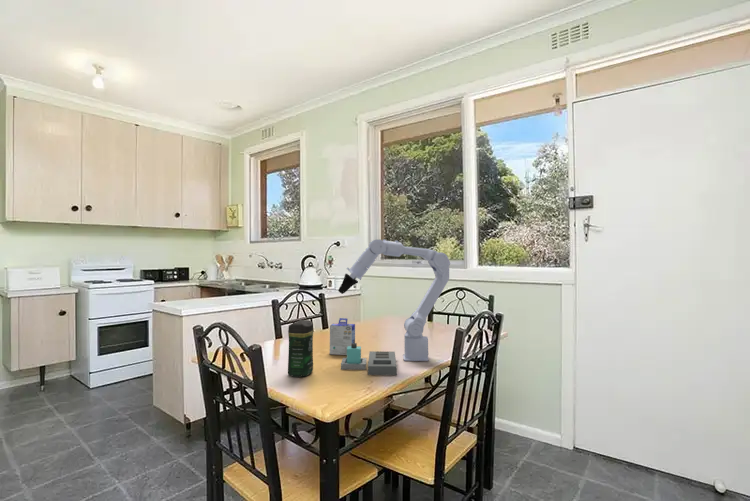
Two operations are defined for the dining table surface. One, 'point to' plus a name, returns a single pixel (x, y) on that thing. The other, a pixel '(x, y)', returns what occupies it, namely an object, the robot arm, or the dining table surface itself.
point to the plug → (354, 353)
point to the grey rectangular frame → (353, 365)
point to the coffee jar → (300, 348)
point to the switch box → (382, 363)
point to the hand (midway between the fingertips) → (341, 292)
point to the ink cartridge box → (341, 337)
